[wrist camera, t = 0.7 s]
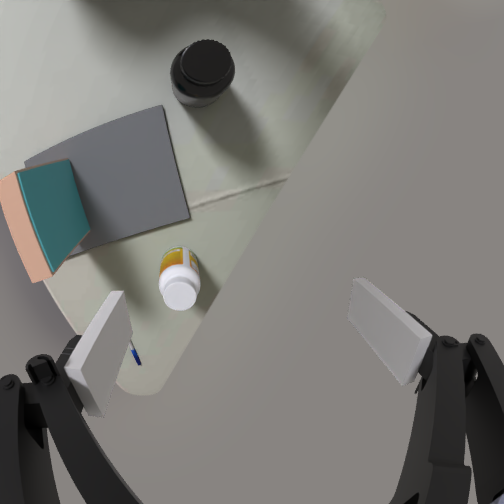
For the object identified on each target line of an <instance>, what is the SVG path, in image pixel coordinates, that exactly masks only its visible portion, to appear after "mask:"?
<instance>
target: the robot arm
mask: <svg viewBox="0 0 504 504" xmlns="http://www.w3.org/2000/svg"><path fill="white" fill-rule="evenodd" d="M347 319H348V320H349V321H350V322H351V323H352V324H353V326H354V327H355V328H356V330H357V331H358V332H359V333H360V334H361V336H362V337H363V338H364V339H365V340H366V341H367V343H368V344H369V345H370V347H371V348H372V349H373V350H374V351H375V353H376V354H377V355H378V356H379V358H380V359H381V360H382V361H383V363H384V364H385V365H386V366H387V368H388V369H389V370H390V371H391V373H392V374H393V375H394V377H395V378H396V379H397V380H398V382H399V383H400V384H401V385H402V386H403V385H406V384H409V383H412V382H414V380H415V378H416V376H417V373H418V372H419V373H420V375H421V376H422V378H421V380H420V382H419V384H418V386H417V388H416V390H415V393H417V391H418V398H417V405H416V411H415V417H414V422H413V427H412V432H411V437H410V442H409V446H408V450H407V455H406V458H405V462H404V466H403V470H402V473H401V476H400V480H399V483H398V486H397V489H396V492H395V495H394V497H393V499H392V500H391V502H390V503H389V504H467V503H468V497H469V491H470V483H471V468H470V466H465V465H464V454H465V436H466V435H467V439H468V444H469V449H470V454H471V460H472V465H473V472H474V479H475V488H476V496H477V502H478V504H504V365H503V363H502V361H501V359H500V358H499V356H498V354H497V352H496V351H495V349H494V347H493V346H492V344H491V342H490V341H489V340H488V338H486V337H485V336H484V335H481V334H472V335H471V336H470V338H469V341H468V343H459V342H458V341H457V340H456V339H455V338H453V337H450V336H440V337H439V336H438V335H437V334H436V333H435V332H434V331H432V330H431V329H430V328H429V327H428V326H427V325H425V324H424V323H423V322H422V321H420V319H418V318H417V317H416V316H415V315H413V314H411V313H409V312H407V311H404V310H403V309H402V308H401V307H400V306H398V305H397V304H396V303H395V302H394V301H392V300H391V299H390V298H389V297H387V296H386V295H385V294H384V293H383V292H382V291H380V290H379V289H378V288H377V287H376V286H374V285H373V284H372V283H370V282H369V281H368V280H367V279H366V278H365V277H361V278H354V279H353V285H352V291H351V298H350V304H349V309H348V315H347ZM132 334H133V331H132V326H131V322H130V318H129V313H128V309H127V304H126V299H125V294H124V291H111V292H110V294H109V295H108V297H107V298H106V300H105V301H104V303H103V304H102V306H101V307H100V309H99V310H98V312H97V313H96V315H95V317H94V318H93V320H92V321H91V323H90V324H89V326H88V328H87V329H86V331H85V332H84V334H83V335H76V336H75V337H74V338H72V339H71V340H70V341H69V342H68V344H67V346H66V347H65V349H64V350H63V352H62V354H61V355H60V357H59V358H58V360H57V362H56V363H54V360H53V359H52V357H51V356H49V355H47V354H41V355H37V356H35V357H33V358H31V359H30V360H29V361H28V362H27V364H26V371H27V373H28V375H29V377H30V379H31V381H32V382H33V383H21V381H20V379H19V378H18V376H16V375H14V374H9V375H6V376H4V377H2V378H1V379H0V504H60V500H59V497H58V493H57V489H56V485H55V480H54V475H53V470H52V465H51V458H50V452H49V445H48V437H47V428H49V431H50V433H51V436H52V438H53V440H54V443H55V445H56V447H57V449H58V452H59V454H60V456H61V458H62V460H63V462H64V464H65V466H66V468H67V470H68V472H69V474H70V476H71V478H72V480H73V481H74V483H75V485H76V487H77V489H78V490H79V492H80V494H81V495H82V497H83V498H84V500H85V502H86V503H87V504H143V503H142V502H141V500H140V499H139V498H138V497H137V496H136V495H135V493H134V492H133V491H132V490H131V488H130V487H129V486H128V485H127V483H126V482H125V481H124V479H123V478H122V477H121V475H120V474H119V473H118V471H117V470H116V469H115V467H114V466H113V464H112V463H111V462H110V460H109V459H108V457H107V456H106V455H105V453H104V451H103V450H102V448H101V446H100V445H99V443H98V442H97V440H96V439H95V437H94V435H93V434H92V432H91V430H90V428H89V427H88V425H87V423H86V421H85V420H84V418H83V416H82V414H81V412H82V409H83V407H84V408H85V410H86V412H87V413H88V415H89V416H96V417H103V418H104V416H105V412H106V409H107V406H108V403H109V400H110V396H111V393H112V390H113V387H114V384H115V381H116V378H117V375H118V372H119V369H120V367H121V364H122V361H123V358H124V355H125V353H126V350H127V347H128V344H129V342H130V339H131V337H132ZM477 372H478V377H477V379H476V377H475V376H476V373H477Z"/></svg>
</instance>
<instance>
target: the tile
mask: <svg viewBox="0 0 504 504" xmlns="http://www.w3.org/2000/svg"><path fill="white" fill-rule="evenodd" d="M0 202H1V206H2V209H3V212H4V215H5V218H6V221H7V224H8V226H9V229H10V232H11V235H12V237H13V240H14V243H15V245H16V247H17V250H18V252H19V255H20V257H21V259H22V261H23V264H24V266H25V268H26V270H27V272H28V275H29V277H30V279H31V281H32V283H35V282H38V281H41V280H44V279H47V278H50V277H52V276H53V275H54V274H55V273H56V271H57V270H58V269H59V268H60V266H61V265H62V264H63V263H64V261H65V260H66V259H67V258H68V256H69V255H70V254H71V253H72V252H73V250H74V249H75V248H76V247H77V246H78V245H79V243H80V242H81V241H82V240H83V239H84V238H85V236H86V235H87V234H88V233H89V232H90V226H89V223H88V220H87V218H86V215H85V212H84V209H83V206H82V203H81V200H80V196H79V193H78V190H77V187H76V183H75V180H74V176H73V173H72V169H71V165H70V161H69V159H68V158H65V159H60V160H56V161H52V162H47V163H43V164H39V165H35V166H32V167H28V168H24V169H21V170H17V171H14V172H13V173H11V174H9V175H8V176H6V177H4V178H3V179H1V180H0Z"/></svg>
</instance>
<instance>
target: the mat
mask: <svg viewBox="0 0 504 504" xmlns="http://www.w3.org/2000/svg"><path fill="white" fill-rule="evenodd" d="M65 158H68V159H69V161H70V165H71V169H72V173H73V176H74V180H75V183H76V187H77V190H78V193H79V196H80V200H81V203H82V206H83V209H84V212H85V215H86V218H87V220H88V223H89V226H90V232H89V233H88V234H87V235H86V236H85V238H84V239H83V240H82V241H81V242H80V243H79V245H78V246H77V247H76V248H75V249H74V250H73V252H72V253H71V254H70V255H69V256H71V255H74V254H77V253H80V252H82V251H85V250H88V249H91V248H94V247H97V246H100V245H103V244H106V243H109V242H112V241H115V240H118V239H121V238H124V237H128V236H131V235H134V234H137V233H140V232H144V231H147V230H150V229H153V228H157V227H160V226H163V225H167V224H170V223H174V222H177V221H180V220H184V219H187V218H190V216H189V212H188V209H187V205H186V201H185V198H184V194H183V190H182V186H181V183H180V179H179V175H178V171H177V167H176V163H175V159H174V155H173V151H172V147H171V142H170V138H169V134H168V129H167V125H166V121H165V116H164V112H163V107H162V105H159V106H155V107H152V108H149V109H145V110H142V111H139V112H136V113H133V114H130V115H127V116H124V117H121V118H119V119H116V120H113V121H110V122H108V123H105V124H103V125H100V126H97V127H95V128H93V129H90V130H88V131H85V132H83V133H81V134H78V135H76V136H74V137H72V138H69V139H67V140H65V141H63V142H61V143H59V144H57V145H55V146H53V147H51V148H49V149H47V150H45V151H43V152H41V153H39V154H37V155H35V156H34V157H32V158H30V159H28V160H26V161H25V162H24V163H25V167H26V168H28V167H32V166H35V165H39V164H43V163H47V162H52V161H56V160H60V159H65Z"/></svg>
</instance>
